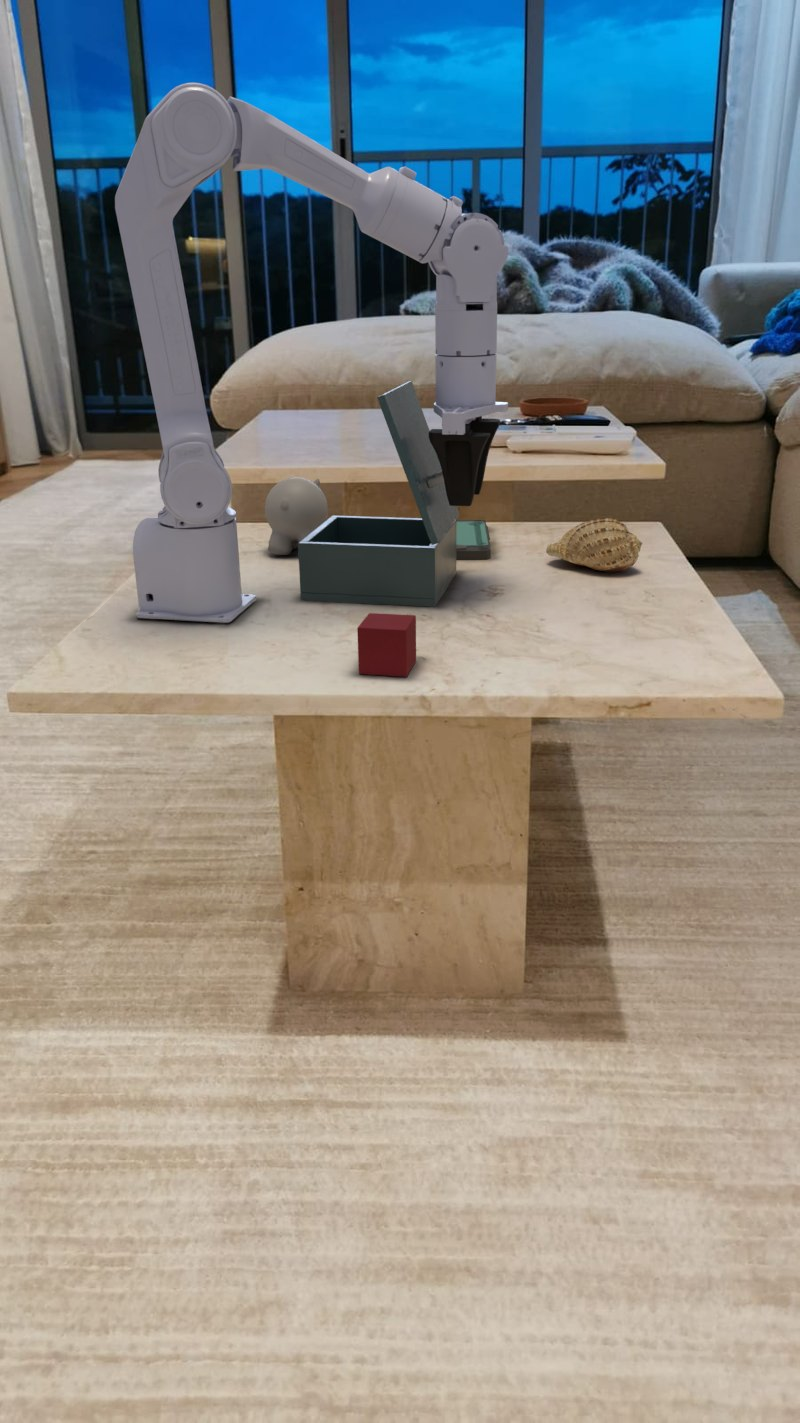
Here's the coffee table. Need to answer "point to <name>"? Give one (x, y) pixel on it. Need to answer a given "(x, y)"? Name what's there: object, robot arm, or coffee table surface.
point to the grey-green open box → (376, 562)
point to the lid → (418, 459)
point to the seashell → (598, 545)
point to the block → (387, 644)
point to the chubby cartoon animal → (294, 512)
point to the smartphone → (472, 540)
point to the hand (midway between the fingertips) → (465, 499)
